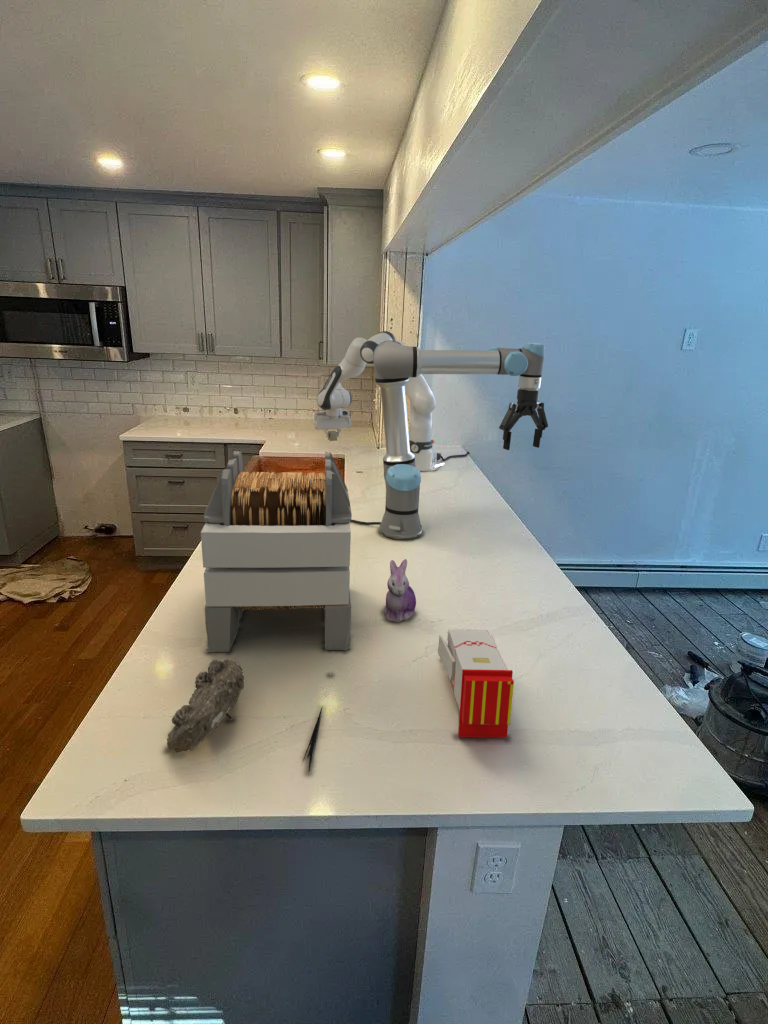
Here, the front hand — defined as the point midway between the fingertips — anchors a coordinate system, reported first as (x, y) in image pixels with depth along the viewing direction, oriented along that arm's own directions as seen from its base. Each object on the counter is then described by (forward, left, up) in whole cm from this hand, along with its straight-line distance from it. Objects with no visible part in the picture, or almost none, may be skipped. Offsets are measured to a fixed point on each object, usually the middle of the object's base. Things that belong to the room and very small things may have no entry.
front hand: (521, 448), depth 206 cm
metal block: (-129, +9, -24) cm, 132 cm away
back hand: (-129, +9, -22) cm, 131 cm away
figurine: (+26, -81, -29) cm, 90 cm away
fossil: (+33, -136, -29) cm, 143 cm away
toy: (+58, -90, -29) cm, 111 cm away
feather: (+46, -120, -29) cm, 132 cm away
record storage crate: (+8, -105, -29) cm, 109 cm away
